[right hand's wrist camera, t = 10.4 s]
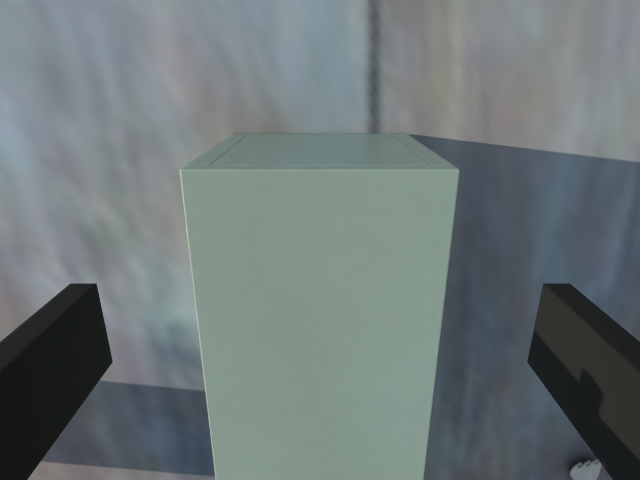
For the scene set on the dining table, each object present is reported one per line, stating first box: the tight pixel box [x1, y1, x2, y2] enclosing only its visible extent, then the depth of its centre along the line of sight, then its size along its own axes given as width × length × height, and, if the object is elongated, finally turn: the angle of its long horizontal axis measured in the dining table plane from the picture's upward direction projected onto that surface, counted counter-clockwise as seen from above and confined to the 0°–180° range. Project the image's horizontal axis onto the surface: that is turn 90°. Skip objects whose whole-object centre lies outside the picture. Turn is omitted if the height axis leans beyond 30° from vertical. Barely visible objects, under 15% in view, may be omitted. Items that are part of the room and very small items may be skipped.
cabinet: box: [180, 134, 460, 480], centre depth 26 cm, size 21×11×11 cm, turn 0°
